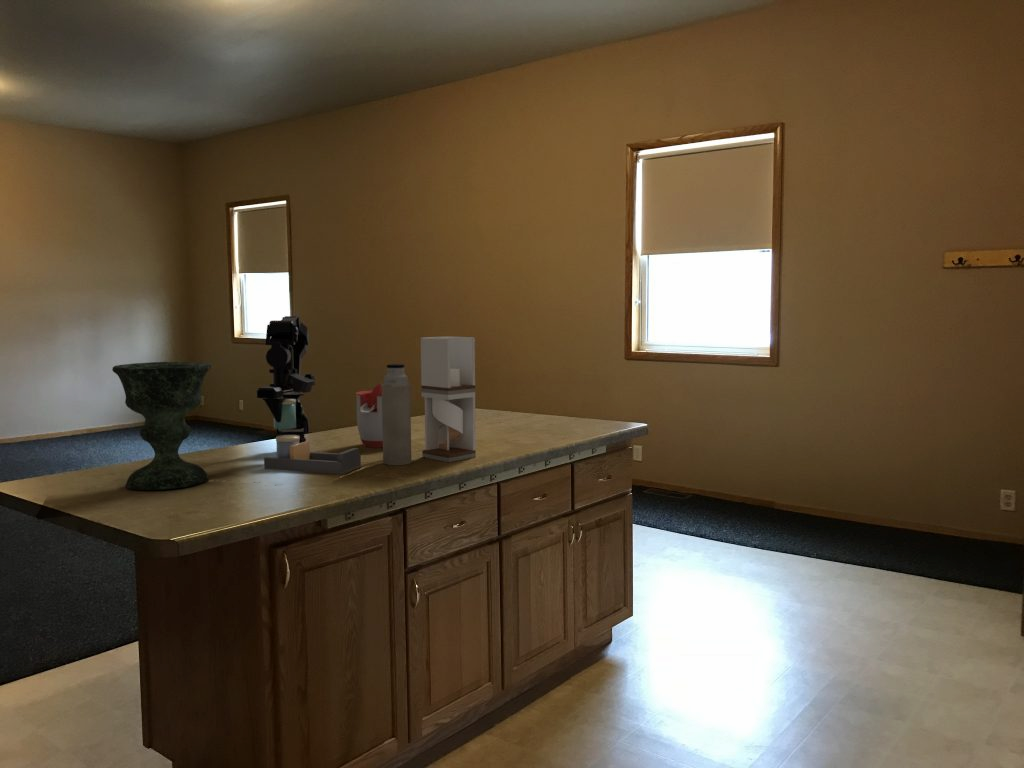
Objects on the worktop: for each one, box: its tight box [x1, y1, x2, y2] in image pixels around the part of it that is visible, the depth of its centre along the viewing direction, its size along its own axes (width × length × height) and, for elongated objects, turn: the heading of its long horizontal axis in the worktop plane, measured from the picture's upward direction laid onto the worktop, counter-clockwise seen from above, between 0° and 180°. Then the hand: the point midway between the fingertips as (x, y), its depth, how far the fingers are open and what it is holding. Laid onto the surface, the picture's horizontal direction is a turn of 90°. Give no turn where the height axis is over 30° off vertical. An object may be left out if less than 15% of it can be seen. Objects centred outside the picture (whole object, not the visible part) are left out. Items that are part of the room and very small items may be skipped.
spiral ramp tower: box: [420, 336, 477, 463], centre depth 240 cm, size 11×11×35 cm
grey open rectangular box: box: [263, 447, 362, 477], centre depth 223 cm, size 23×11×6 cm, turn 73°
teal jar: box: [273, 398, 296, 430], centre depth 232 cm, size 6×6×8 cm
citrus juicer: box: [355, 382, 383, 448], centre depth 261 cm, size 16×17×20 cm
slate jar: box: [275, 435, 300, 458], centre depth 225 cm, size 6×6×8 cm
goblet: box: [112, 361, 212, 491], centre depth 206 cm, size 22×22×30 cm
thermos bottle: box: [382, 363, 412, 466], centre depth 232 cm, size 8×8×28 cm
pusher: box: [290, 440, 311, 460], centre depth 224 cm, size 1×8×6 cm, turn 163°
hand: (284, 420), depth 233 cm, fingers closed on teal jar, 6 cm apart
